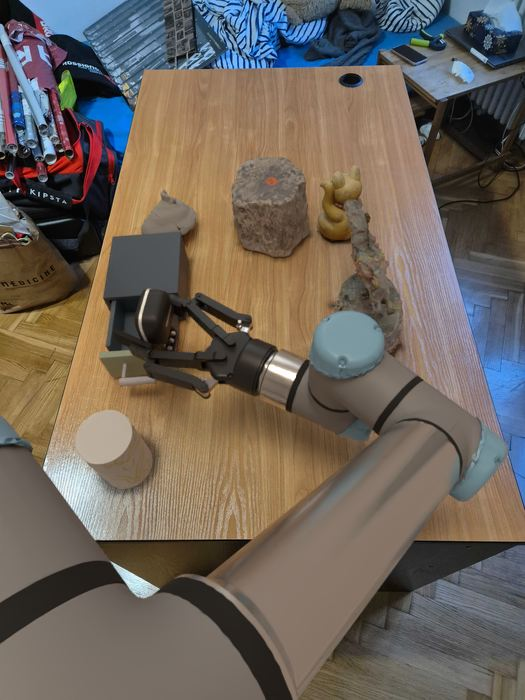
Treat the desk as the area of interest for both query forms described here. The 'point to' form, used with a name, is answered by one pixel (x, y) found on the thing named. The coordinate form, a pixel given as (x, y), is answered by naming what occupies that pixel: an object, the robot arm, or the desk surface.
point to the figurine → (370, 281)
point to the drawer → (119, 355)
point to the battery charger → (156, 320)
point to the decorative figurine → (339, 203)
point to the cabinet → (146, 266)
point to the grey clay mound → (169, 217)
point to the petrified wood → (270, 205)
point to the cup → (114, 449)
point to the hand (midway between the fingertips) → (132, 315)
